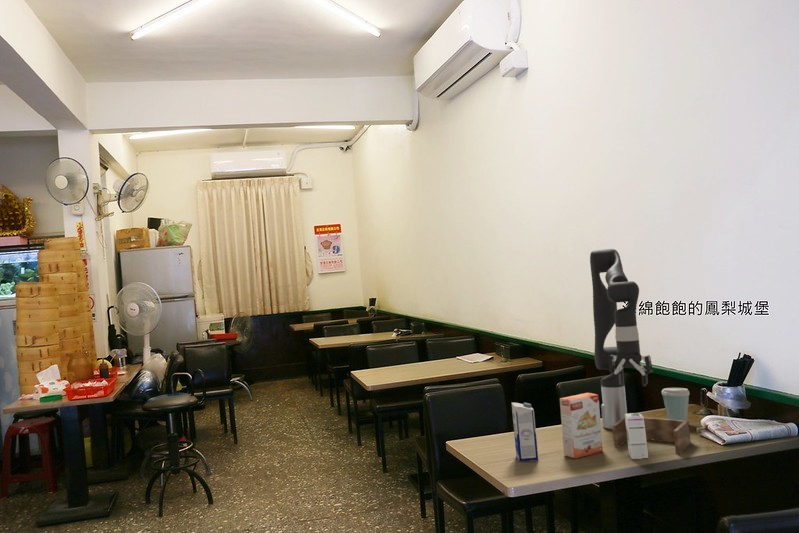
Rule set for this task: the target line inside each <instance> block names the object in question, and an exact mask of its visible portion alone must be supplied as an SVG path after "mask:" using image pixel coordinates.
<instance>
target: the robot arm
mask: <svg viewBox="0 0 799 533" xmlns="http://www.w3.org/2000/svg"><path fill="white" fill-rule="evenodd" d="M621 260H622V259H621V256H620V254H619V252H618V250H617V249H615V248H609V249H608V248H606V249H595V250H592V251H591V252H590V255H589V265H590V273H591V283H592V284H591V285H592V310H593V312H592V313H593V325H594V326H593V327H594V363H595V367H596V369H597V370H599V371H600V370H601V371H602V370H603V371H604V370H605V371H608V372H609V373H610V374H609V375H606V376H603V377H602V378H601V379H600V387H601V388H600V389H601V390H600V391H601V398H602V403H601V405H600V408H601V409H600V410H601V420H602V427H603V428H606V429H608V430H613V425H614V424H615V423H617V422H618V421H620V420H621V419H623V418H624V417H625V414H628V408H627V400H626V399H627V398H626V397H627V396H626V388H625V374H624V369H636V370H637V371H639V373H640V374H641V385H642V387H646V386H647V385H648V383H649V382H648V381H649V379H648V375H650V374H651V373H653V372H654V370H653V364H652V357H651V355H649V354H648V355H642V354H641V347H640V346H641V345H640V336H639V330H638V329H639V328H638V324H637V305H638V300H639V296H640V287H639V285H638V284H637V283H636V282H635V281H631V280H630V281H629V280H628V278H627V275H626V274H625V272H624V268H623V264H622V261H621ZM601 273H605V275H604V276H605V277H604V278H605V283H606V285H607V286H606V285H605V284H604V282H603V281H602V278H601ZM625 302H627V305H626V306H625V307H622V308H619V309H618V303H625ZM614 326H615V329H614V330H615V344H616V346H605V341H606V339H607V337H608V335H609V333H610V332H611V330H612V329H613V328H614ZM642 360H643V362H644V363H645V367H644V365H643V364H642V363H641V362H642Z"/></svg>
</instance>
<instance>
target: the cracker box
mask: <svg viewBox="0 0 799 533" xmlns="http://www.w3.org/2000/svg"><path fill="white" fill-rule="evenodd" d="M559 406H560V420H561V431H562V444H563V455H564V456H565V457H569V458H572V459H575V460H576V459H579V458H582V457H586V455H587V456H590V455H593V454H594V455H595V454H597V452H598V453H601V451H602V452H603V451H604V448H603V438H602V437H603V435H602V422H601V413H600V412H601V411H600V410H601V409H600V399H599V394H596V393H592V392H584V393H579V394H576V395H570V396H566V397H560V398H559Z"/></svg>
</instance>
